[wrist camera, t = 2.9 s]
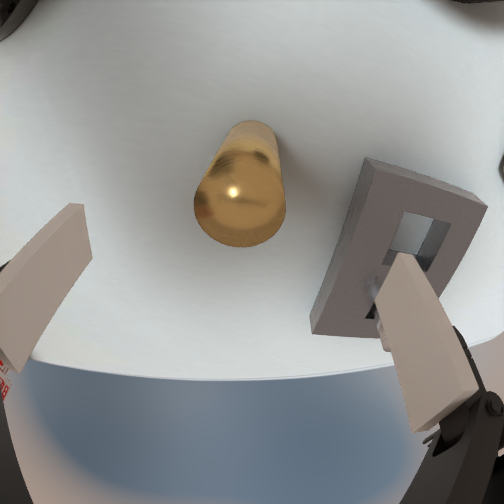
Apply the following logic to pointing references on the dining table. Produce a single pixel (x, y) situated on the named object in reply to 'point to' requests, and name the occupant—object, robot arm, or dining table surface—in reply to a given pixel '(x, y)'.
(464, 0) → the hut
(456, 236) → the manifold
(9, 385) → the toy
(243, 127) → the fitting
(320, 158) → the dining table surface
